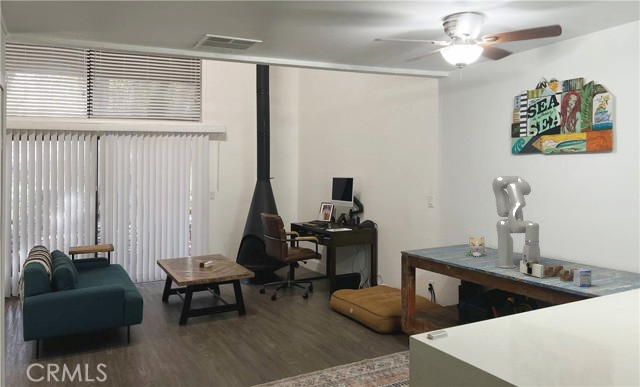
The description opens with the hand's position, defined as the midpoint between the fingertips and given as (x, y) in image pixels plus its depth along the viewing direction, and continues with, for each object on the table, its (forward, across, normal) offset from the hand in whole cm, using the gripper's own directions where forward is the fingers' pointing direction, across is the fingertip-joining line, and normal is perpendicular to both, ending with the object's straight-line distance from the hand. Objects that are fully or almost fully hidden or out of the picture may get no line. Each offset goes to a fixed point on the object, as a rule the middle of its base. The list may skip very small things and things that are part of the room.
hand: (531, 273), depth 283 cm
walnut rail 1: (+1, -11, +7) cm, 13 cm away
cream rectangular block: (+1, 0, 0) cm, 1 cm away
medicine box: (+1, -6, +30) cm, 31 cm away
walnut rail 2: (+1, -11, +18) cm, 21 cm away
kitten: (+4, -15, -68) cm, 69 cm away
